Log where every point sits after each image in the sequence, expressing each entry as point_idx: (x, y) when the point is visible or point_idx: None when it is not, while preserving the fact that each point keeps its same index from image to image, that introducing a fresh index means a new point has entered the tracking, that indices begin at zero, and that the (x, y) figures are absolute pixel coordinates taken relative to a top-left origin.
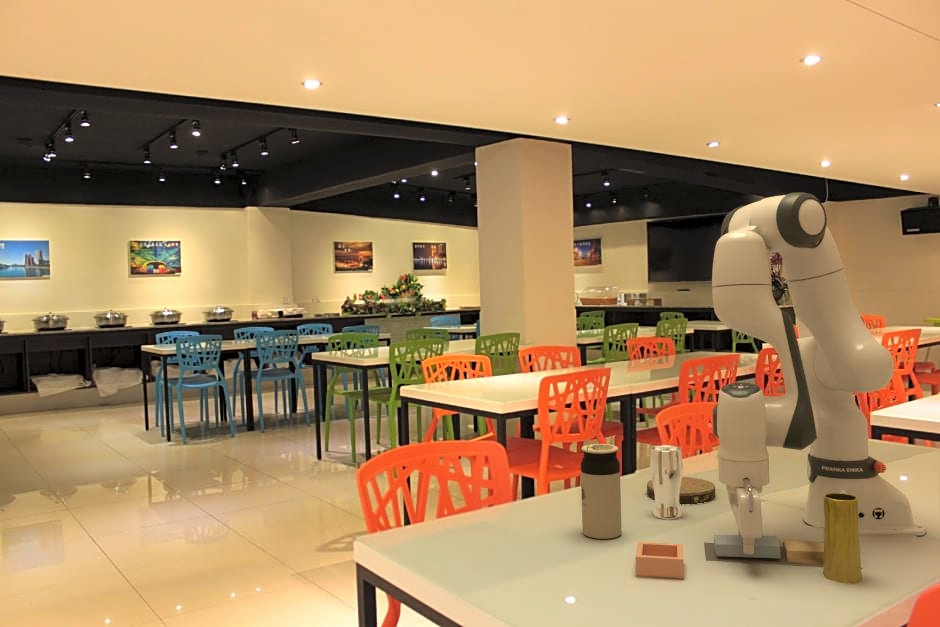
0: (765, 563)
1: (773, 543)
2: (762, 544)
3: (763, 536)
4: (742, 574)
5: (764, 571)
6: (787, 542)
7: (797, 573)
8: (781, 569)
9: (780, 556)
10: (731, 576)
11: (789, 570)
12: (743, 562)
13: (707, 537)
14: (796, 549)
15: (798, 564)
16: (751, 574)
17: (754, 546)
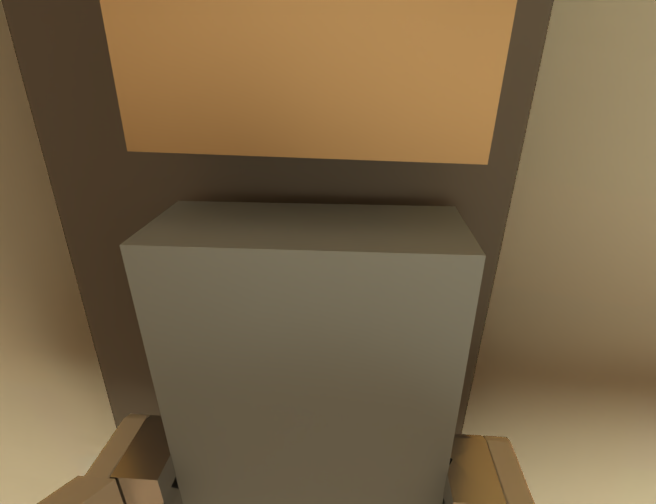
0: (484, 309)
1: (386, 306)
2: (419, 402)
3: (163, 355)
4: (610, 435)
5: (567, 315)
6: (188, 108)
7: (643, 78)
8: (532, 196)
9: (307, 173)
10: (635, 485)
11: (560, 136)
12: (462, 426)
13: (16, 489)
14: (458, 35)
15: (514, 40)
16: (616, 394)
17: (446, 453)
